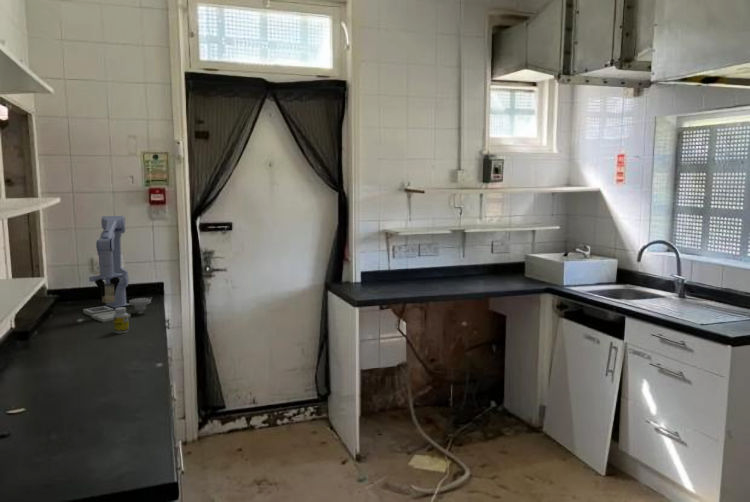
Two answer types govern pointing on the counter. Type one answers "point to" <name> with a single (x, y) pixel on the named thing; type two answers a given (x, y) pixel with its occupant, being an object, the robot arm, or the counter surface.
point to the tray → (106, 316)
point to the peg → (108, 293)
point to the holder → (97, 310)
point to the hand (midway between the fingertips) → (108, 295)
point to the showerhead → (140, 304)
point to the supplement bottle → (121, 320)
